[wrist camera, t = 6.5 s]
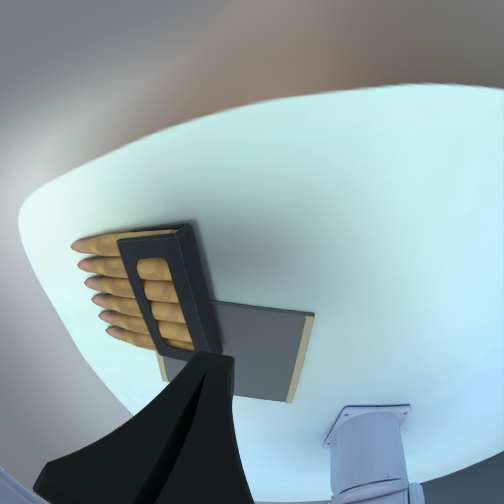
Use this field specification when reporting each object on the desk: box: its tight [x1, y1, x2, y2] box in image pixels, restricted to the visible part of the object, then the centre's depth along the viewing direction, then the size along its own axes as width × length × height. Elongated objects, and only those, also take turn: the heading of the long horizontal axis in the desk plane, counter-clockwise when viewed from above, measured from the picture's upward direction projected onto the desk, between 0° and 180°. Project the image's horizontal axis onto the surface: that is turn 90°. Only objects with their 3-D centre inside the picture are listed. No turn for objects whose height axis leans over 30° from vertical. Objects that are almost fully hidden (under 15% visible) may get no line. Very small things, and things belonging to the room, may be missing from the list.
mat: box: [156, 300, 314, 403], centre depth 24 cm, size 11×13×1 cm
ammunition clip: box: [71, 223, 223, 362], centre depth 21 cm, size 11×2×12 cm
